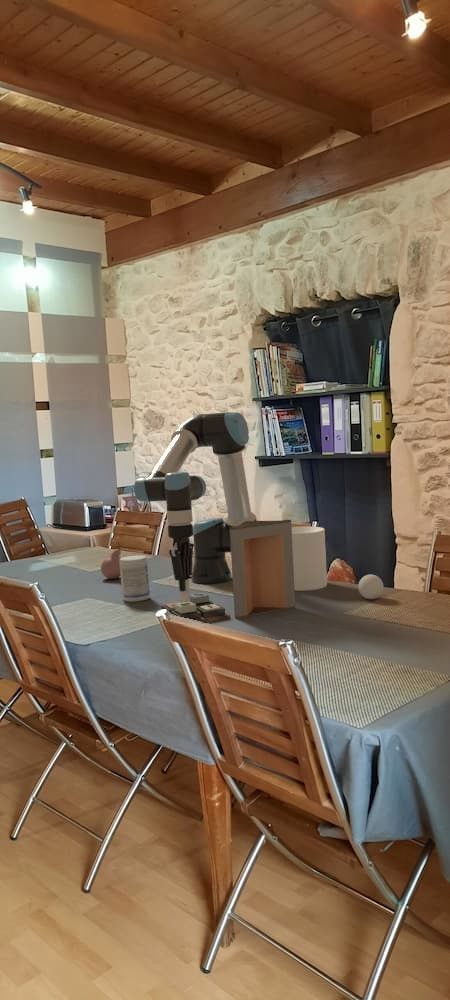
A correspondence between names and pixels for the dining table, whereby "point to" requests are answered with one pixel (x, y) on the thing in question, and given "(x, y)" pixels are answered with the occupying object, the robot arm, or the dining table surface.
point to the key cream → (209, 607)
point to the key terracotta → (171, 605)
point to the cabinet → (262, 567)
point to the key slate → (199, 598)
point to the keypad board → (202, 613)
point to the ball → (370, 586)
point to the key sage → (185, 607)
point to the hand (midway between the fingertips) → (185, 600)
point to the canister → (309, 558)
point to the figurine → (111, 565)
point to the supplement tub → (134, 578)
